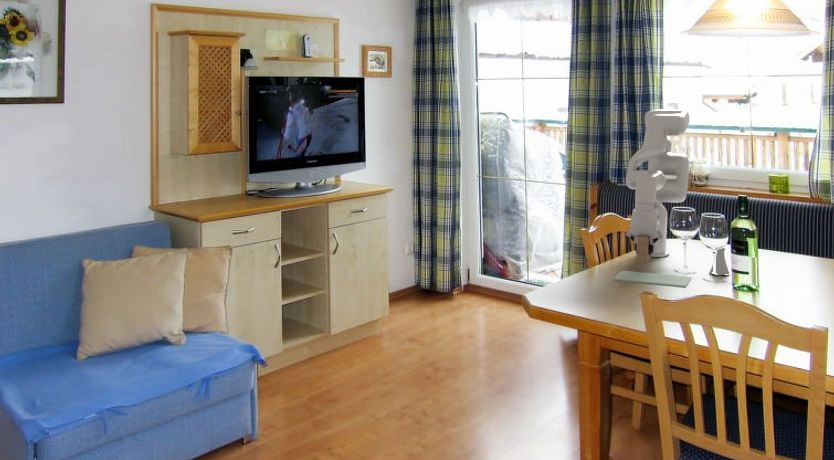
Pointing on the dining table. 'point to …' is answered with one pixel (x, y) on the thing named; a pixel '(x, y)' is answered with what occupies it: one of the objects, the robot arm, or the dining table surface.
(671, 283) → the sage mat
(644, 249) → the walnut slab
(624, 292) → the dining table surface
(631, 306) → the dining table surface
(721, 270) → the flask
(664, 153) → the robot arm
